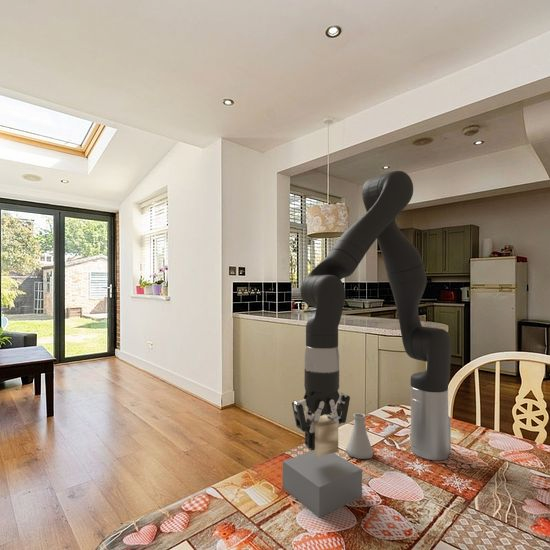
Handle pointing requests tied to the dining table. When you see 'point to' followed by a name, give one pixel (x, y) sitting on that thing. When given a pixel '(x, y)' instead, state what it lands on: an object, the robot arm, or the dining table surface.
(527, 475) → the dining table surface
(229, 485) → the dining table surface
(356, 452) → the flask
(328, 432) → the birch block
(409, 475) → the dining table surface
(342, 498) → the grey box
